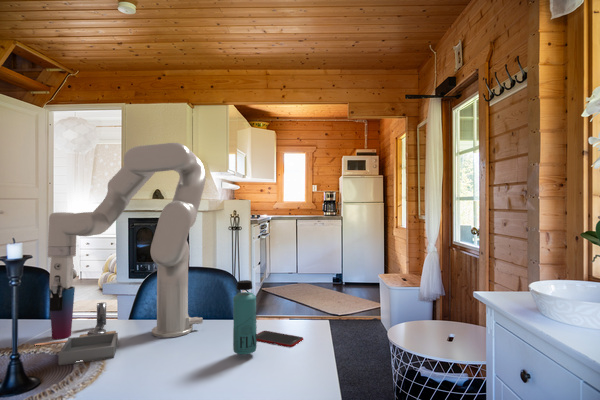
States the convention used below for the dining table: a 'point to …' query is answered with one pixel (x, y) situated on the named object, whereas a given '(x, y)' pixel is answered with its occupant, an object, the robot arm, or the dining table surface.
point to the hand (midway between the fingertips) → (59, 306)
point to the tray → (88, 348)
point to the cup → (63, 315)
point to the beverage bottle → (244, 319)
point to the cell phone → (278, 338)
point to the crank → (99, 320)
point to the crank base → (66, 340)
